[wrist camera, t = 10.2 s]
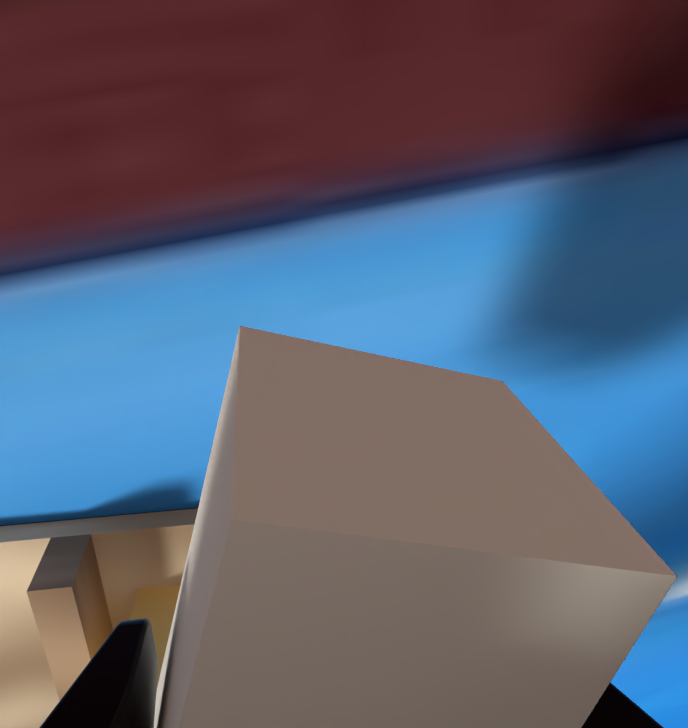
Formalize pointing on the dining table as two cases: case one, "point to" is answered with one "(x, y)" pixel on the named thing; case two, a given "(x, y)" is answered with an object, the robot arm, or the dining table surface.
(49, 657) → the comb board
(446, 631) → the cream bar
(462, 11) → the dining table surface
